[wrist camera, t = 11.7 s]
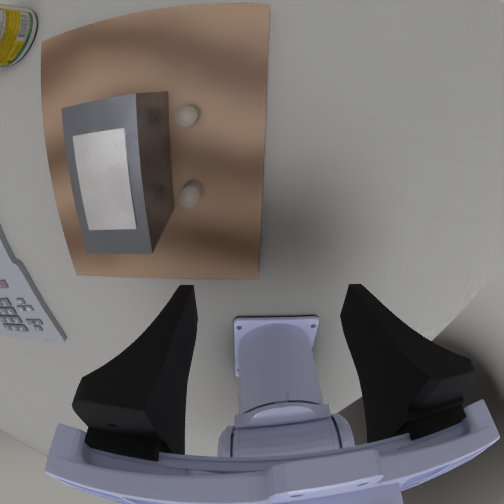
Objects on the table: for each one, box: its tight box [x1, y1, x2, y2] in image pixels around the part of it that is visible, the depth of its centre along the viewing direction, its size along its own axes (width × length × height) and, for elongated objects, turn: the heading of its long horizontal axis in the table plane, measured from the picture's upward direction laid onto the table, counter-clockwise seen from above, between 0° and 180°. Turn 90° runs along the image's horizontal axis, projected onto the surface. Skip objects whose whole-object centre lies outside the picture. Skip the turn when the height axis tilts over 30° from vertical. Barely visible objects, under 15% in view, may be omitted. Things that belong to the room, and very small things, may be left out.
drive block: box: [61, 91, 175, 254], centre depth 15 cm, size 8×4×6 cm, turn 179°
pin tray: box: [41, 3, 269, 279], centre depth 17 cm, size 20×16×3 cm
